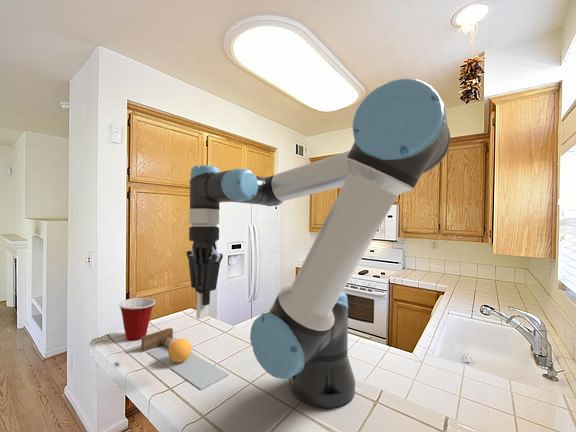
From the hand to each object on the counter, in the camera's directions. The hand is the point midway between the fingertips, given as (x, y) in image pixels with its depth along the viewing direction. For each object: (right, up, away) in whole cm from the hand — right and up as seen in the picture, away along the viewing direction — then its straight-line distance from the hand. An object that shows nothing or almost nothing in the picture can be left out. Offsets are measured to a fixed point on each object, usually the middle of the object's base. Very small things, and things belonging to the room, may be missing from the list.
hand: (202, 316), depth 68 cm
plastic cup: (-29, -15, +20) cm, 38 cm away
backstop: (-19, -15, +14) cm, 28 cm away
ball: (-8, -12, +5) cm, 15 cm away
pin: (-10, -13, +11) cm, 20 cm away
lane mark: (-6, -14, +4) cm, 16 cm away
